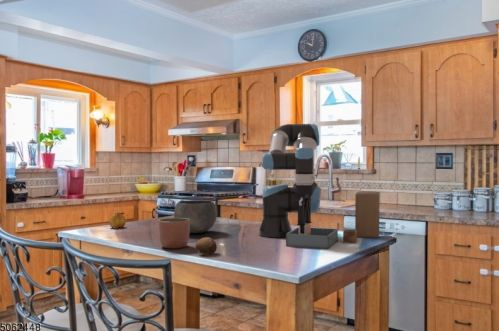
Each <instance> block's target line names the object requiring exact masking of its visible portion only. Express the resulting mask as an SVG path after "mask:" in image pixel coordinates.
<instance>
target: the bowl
mask: <svg viewBox="0 0 499 331" xmlns="http://www.w3.org/2000/svg"><path fill="white" fill-rule="evenodd" d="M217 217H218V210H217V207H216V204H215V202H214V201H212V200H206V199H201V200H200V199H199V200H198V199H197V200H195V199H194V200H192V199H191V200H190V199H189V200H180V201H178V202H177V203H176V204H175V207H174V210H173V218H187V219H190V231H189V234H203V233H205V232H207V231H209V230H210V229H212V227H213V226H214V225H215V223H216V221H217Z"/></svg>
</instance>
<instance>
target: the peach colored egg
mask: <svg viewBox="0 0 499 331" xmlns="http://www.w3.org/2000/svg"><path fill="white" fill-rule="evenodd" d="M305 225H306V235H311V228H312V226H311V223H309V224H305Z"/></svg>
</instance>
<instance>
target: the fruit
mask: <svg viewBox="0 0 499 331" xmlns="http://www.w3.org/2000/svg"><path fill="white" fill-rule="evenodd" d="M108 222H109V226H110V227H111V228H112V227H113V228H112V229H120V228H119V227H122V228H124V227H125V226H126V223H127V220H126V216H124V215H123V214H122V213H121V212H115V213H114V214H112V215H111V216H110V218H109V221H108Z"/></svg>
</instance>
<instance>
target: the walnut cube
mask: <svg viewBox="0 0 499 331" xmlns="http://www.w3.org/2000/svg"><path fill="white" fill-rule="evenodd" d="M342 237H343V238H342V240H343V242H342V243H343V244H344V243H345V244H356V243H358V237H357V230H355V229H351V228H350V229H348V228H345V229H344V230H343V232H342Z"/></svg>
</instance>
